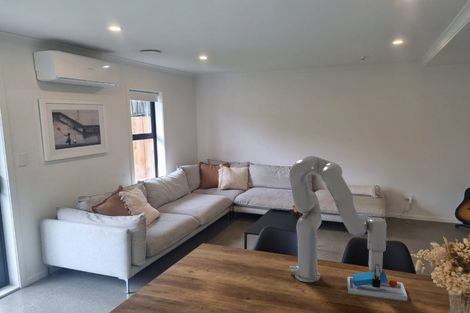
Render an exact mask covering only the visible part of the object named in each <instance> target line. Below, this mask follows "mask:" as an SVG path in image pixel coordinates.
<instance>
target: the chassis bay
mask: <svg viewBox="0 0 470 313" xmlns="http://www.w3.org/2000/svg"><path fill="white" fill-rule="evenodd" d="M396 282H397V287H396V288H392V287H390V285H389V284H386V283H380V288H376V287H372V284H368V285H361V286H354V283H353V276H347V294H348V295H353V296H358V297H359V296H360V297H366V298H367V297H368V298H376V299H382V300H390V301H391V300H392V301H398V302H407V303H408V295H407V292H406V289H405V287H404V283H403V282H398V281H396Z"/></svg>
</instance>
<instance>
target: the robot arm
mask: <svg viewBox="0 0 470 313" xmlns="http://www.w3.org/2000/svg"><path fill="white" fill-rule="evenodd" d="M313 174H315V175H318V176H320V178H321V180H322V182H323V183H324V185H325V187H326V188H327V190H328V192H329V194H330V195H331V197H332V199H333V200H334V204H335V207H336V210H337V212H338V214H339V216H340V219H341V221H342V222H343V224H344V226H345V228H346V230H347V231H348V232H349V233H350V235H351V236H353V237H356V238H357V237H359V238H360V237H362V236H364V235H365V234H366V232H367V249H368V268H369V272H373V280H372V287H376V288H380V273H382V270H383V259H384V257H383V256H384V255H383V254H384V253H383V252H385V251H386V247H387V221H386V220H385V219H384V218H381V217H372V216H370V215H369V216H368V215H365V214H359V213H358V212H357V210H356V207H355V205H354V199H353V197H354V196H353V192H352V190H351V189H350V188H349V186H348V184H347V182H346V181H345V179H344V177H343V176H342V175H343V169H342V167H341V166H340V165H339V164H338V163H336V162H333V161H330V160H327V159H324V158H321V157H318V156H314V155H309V156H305V157H303V158H301V159H299V160H297V161H296V162H295V163H294V164H293V165H292V166H291V168H290V170H289V181H290V182H289V183H290V185H291V186H290V188H291V193H292V198H293V204H294V208H295V210H296V211H297V212H298V213H300V214H302V216H300V217H299V218H298V219H297V222H296V226H295V228H296V229H295V230H296V235H297V265H295V266H293V265H289V266H288V270H290V272H291V273H294V277H295V279H297V280H298V281H301V282H303V283H314V282H318V281H319V280H321V273H320V272H319V271H318V236H317V230H318V229H319V227H320V226H321V224H322V221H323V220H322V219H323V218H322V213H321V207H320V202H319V198H318V196H317V194H316V193H315V192H314V191H312V190H310V184H309V181H308V176H310V175H313ZM374 271H376V272H374ZM375 273H376V275H375Z"/></svg>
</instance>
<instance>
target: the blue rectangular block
mask: <svg viewBox="0 0 470 313" xmlns="http://www.w3.org/2000/svg"><path fill="white" fill-rule="evenodd" d="M374 272H376V271H374ZM375 275H376V273H375ZM351 277H353V283H354V286H361V285H368V284H372V280H373V272H370V271H367V272H366V271H365V272H360V273H359V272H358V273H352V276H351ZM397 282H398V281H397V280H394V279H391V280H388V278H387V274H386V271H385V269H382V273H380V283H386V284H389V285H390V287H392V288H396V287H397Z"/></svg>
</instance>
